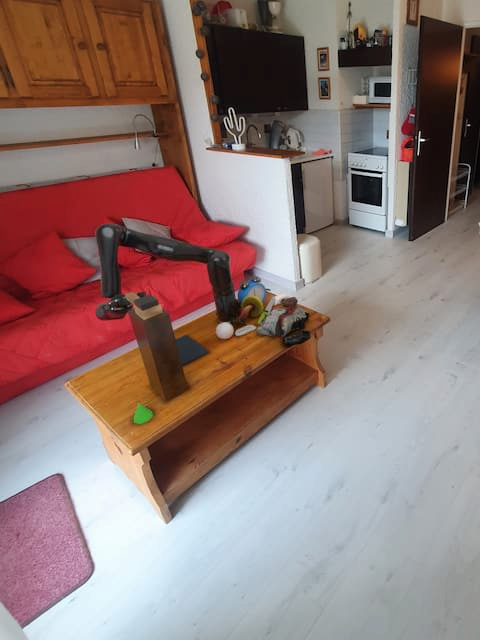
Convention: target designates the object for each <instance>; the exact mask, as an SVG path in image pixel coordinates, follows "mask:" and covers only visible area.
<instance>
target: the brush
mask: <svg viewBox="0 0 480 640" xmlns="http://www.w3.org/2000/svg"><path fill="white" fill-rule="evenodd" d="M136 294H137V293H135V292H133V291H131V292H128V293H125V294H124V295H125V296H126V299H127V300H128V301H129V302H131V303H132V304H133V308H134V309H135V312H136V314H137V315H138V316H139V317H141V318H142V319H143V320H146V319H148V318H151V317H153V316H156V315H158V314H161V313H163V311H162V309H163V307H162V304H161V303H159V299H158V298H157V297H155V296H154V295H152V294H151V293H149V294H146V295H147V296H144V297H141V298H140V297H139V296H137V295H136Z"/></svg>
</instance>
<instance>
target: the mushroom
mask: <svg viewBox="0 0 480 640" xmlns="http://www.w3.org/2000/svg"><path fill="white" fill-rule="evenodd" d="M264 310H265V308H264V302H263V303H262V301H261V300H260V298H258V297H256V296H254V295H249V296H247V297H245V298H244V300H243V302H242V304H241V312H240V317H239V318H238V319H237V318H236V319H235V318H231V320H230V322H231V323H230V324H231V325H232V326H233V325H234V323H235V324H236V325H238V324H239V323H241V324H247V325H249V323H248V322H246V319H247V318H258V317H260V316H261V315H262V313H263V311H264Z"/></svg>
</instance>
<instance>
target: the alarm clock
mask: <svg viewBox="0 0 480 640" xmlns="http://www.w3.org/2000/svg"><path fill="white" fill-rule="evenodd" d="M266 289H267V288H266V287H265V285H264V284H263V283H262V279H261V278H260V277H259V276H257V275H256V276H252V277H251V278H250V279H248V280H243V281H241V282H240V283H239V288H238V291H237V299H238V302H241V305H242V302H243V300H244V298H245V297H247V296H249V295H254V296H256V297H258V298H260V300H261V301H262V303H263V304H264V302H265V299H266V297H267V290H266Z"/></svg>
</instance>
